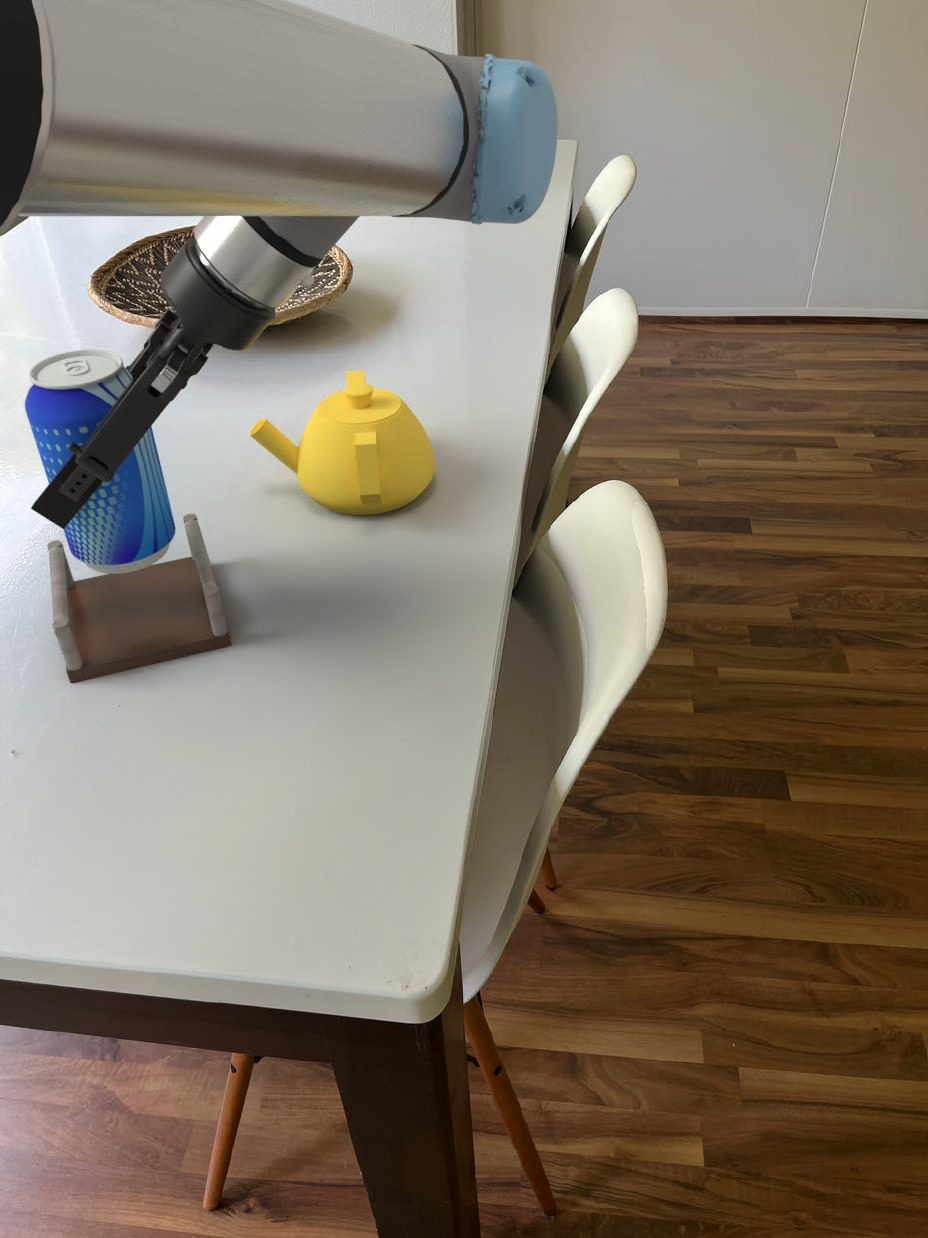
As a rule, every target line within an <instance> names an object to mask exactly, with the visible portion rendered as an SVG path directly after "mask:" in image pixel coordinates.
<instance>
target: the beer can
mask: <svg viewBox="0 0 928 1238" xmlns="http://www.w3.org/2000/svg"><path fill="white" fill-rule="evenodd" d="M28 378H29V381H30V384H29V387H28V391H27V394H26V397H25V401H24V410H25V413H26V417H27V419H28V422H29V426H30V429H31V432H32V435H33V438H34V441H35V444H36V445H35V446H36V448H37V451H38V454H39V457H40V460H41V464H42V467H43V470H44V473H45V476H46V479H47V482H48V485H49V484H50V482H51V481H52V480H53V478H54V477H55V476H56V475H57V473H58V472H59V471H60V470H61V468H62V467H63V466H64V465H65V463H66V462H67V461H68V460H69V458H70V457H71V456H72V455H73V453H72V452H70V451H69V450H67V449H68V447H69V446H70V444H71V443H72V442H74V443H75V444H77V445H78V446H81V445H84V444H85V443H86V442H87V440H88V439H89V438H90V436H91V435H92V433H93V432H94V431H95V429H96V428H97V427H98V425H99V424H100V423H101V421H102V420H103V419H104V417H105V416H106V414H107V413H108V412H109V410H110V409H111V408H112V406H113V405H114V404H115V402H116V401H117V400H118V398H119V397H120V395H121V394H122V393H123V391H124V390H125V389H126V387H127V386H128V385H129V383H130V382H131V381H132V375H131V373H130V372H129V371H128V370H127V369H126V367H125V366H124V360H123V359H122V357H121V356H120V354H117V353H116V352H113V351H110V350H104V349H94V348H93V349H92V348H91V349H89V348H88V349H77V350H71V351H65V352H61V353H57V354H54V355H51V356H49V357H46V358H43V359H41V360H40V361H38V362H37V363H35V364H34V365H33V366H32V367H31V368H30V370H29V372H28ZM154 435H155V434H154V431H153V425H152V426H151V427H150V428H149V429H148V431H147V432H146V433H145V435H144V436H143V437H142V438H141V440H140V441H139V442H138V443H137V445H136V446H135V447H134V449H133V450H132V451H131V452H130V454H129V455H128V456H127V457H126V459H125V460H124V461H123V463H122V464H121V465H120V466H119V468H118V469H117V470H116V471H115V473H114V474H115V475H114V477H113V478H112V479H111V480H109V481H108V482H106V483H105V482H104V481H103V482H102V483H101V485H100V486H99V487H98V488H97V490H96V491H95V492H94V493H93V494H92V496H91V497H90V498H89V499H88V500H87V502H86V503H85V504H84V505H83V506H82V508H81V509H80V510H79V511H78V512H77V514H76V515H75V516H74V517H73V519H72V520H71V521H70V522H69V523H68V525H67V526H66V527H65V528H64V529H63V533H64V537H65V538H66V541H67V545H68V549H69V551H70V554H71V555H72V556H73V557H74V558H75V559H76V560H78V561H80V562H81V563H83V564H84V565H85V566H86V567H88V569H90V570H93V571H95V572H97V573H101V574H105V575H106V574H122V573H129V572H133V571H137V570H140V569H143V568H146V567H148V566H150V565H154V564H156V563H157V562H159V561H160V560H161V559H162V558H163V557H164V556H165V555H166V554H167V553H168V550H169V548H170V544H171V543H172V541H173V540H174V537H175V536H176V523H175V520H174V516H173V512H172V507H171V502H170V499H169V494H168V490H167V486H166V482H165V478H164V472H163V468H162V465H161V460H160V456H159V452H158V447H157V443H156V439H155V436H154Z"/></svg>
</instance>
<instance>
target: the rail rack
mask: <svg viewBox="0 0 928 1238" xmlns="http://www.w3.org/2000/svg"><path fill="white" fill-rule="evenodd" d="M182 521H183V524H184V528H185V533H186V538H187V542H188V546H189V550H190V555H191V556H187V557H183V558H178V559H173V560H168V561H163V562H160V563H154V564H152V565H150V566H148V567H146V568H143V569H140V570H137V571H133V572H129V573H122V574H106V573H105V574H102V575H98V576H92V577H88V578H87V577H86V578H84V579H83V578H82V579H78V580H75V579H74V577H73V574H72V570H71V567H70V565H69V561H68V558H67V554H66V551H65V549H64V544H63V543H62V541H61V540H59V539H58V540H57V539H56V540H52V541H51V540H50V541H49V542H48V543H47V545H46V546H47V550H48V558H49V559H48V560H49V574H50V589H51V590H50V591H51V603H52V619H53V622H52V624H51V625H52V629H53V633H54V636H55V637H56V640H57V642H58V645H59V648H60V652H61V654H62V657H63V660H64V662H65V668H66V670H65V671H66V674H67V677H68V680H69V683H70V684H72V683H76V682H80V681H81V682H82V681H85V680H89V679H93V678H97V677H103V676H106V675H111V674H114V673H119V672H122V671H127V670H132V669H135V668H140V667H145V666H148V665H152V664H153V665H154V664H157V663H161V662H165V661H170V660H174V659H178V658H182V657H183V658H184V657H187V656H191V655H195V654H199V653H203V652H208V651H211V650H217V649H221V648H224V647H228V646H232V645H233V643H232V638H231V633H230V629H229V627H228V624H227V620H226V616H225V613H224V608H223V603H222V598H221V594H220V593H221V592H220V589H219V587H218V584H217V580H216V577H215V574H214V571H213V567H212V563H211V560H210V557H209V554H208V551H207V547H206V543H205V541H204V536H203V534H202V530H201V527H200V523H199V519H198V516H197V514H195V513H187V514H185V515H184V516H183V517H182Z"/></svg>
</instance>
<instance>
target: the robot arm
mask: <svg viewBox="0 0 928 1238" xmlns="http://www.w3.org/2000/svg"><path fill="white" fill-rule="evenodd" d="M558 120H559V119H558V108H557V101H556V94H555V91H554V88H553V85H552V82H551V80H550V78H549V76H548V74H547V73H546V71H544V69H543V68H542V67H541V66H539V65H538V64H536V63H534V62H532V61H529V60H521V59H509V58H498V57H497V56H495V54H493V53H484V56H469V55H468V56H467V55H458V54H457V55H456V54H449V53H444V52H441V51H438V50H434V49H432V48H429V47H426V46H422V45H420V44H413V43H410V42H407V41H405V40H403V39H401V38H398V37H395V36H392V35H389V34H386V33H384V32H381V31H377V30H375V29H372V28H369V27H366V26H363V25H360V24H357V23H354V22H351V21H348V20H346V19H342V18H341V17H340V18H339V17H337V16H334V15H330V14H329V13H326V12H322V11H320V10H316V9H313V8H311V7H308V6H305V5H302V4H299V3H296V2H294V1H291V0H0V236H1V235H2V234H3V233H4V232H5V231H7V230H8V228H9V227H10V226H11V225H12V224H13V223H14V221H15V220H16V219H17V218H18V217H202V218H201V219H200V220H199V222H198V223H197V224H196V226H195V228H194V231H193V233H194V237H193V238H189V239H187V240H186V241H185V242H184V243H183V245H182V246H181V247H180V248H179V250H177V253H176V254H175V255H174V256H173V257H172V259H171V260H170V262H169V263H168V264H167V266H166V267H165V268H164V270H163V271H162V273H161V275H160V288H161V291H162V293H163V295H164V297H165V298H164V299H166V301H167V303H168V304H169V306H170V307H171V308H172V309H174V310H172V309H170V308H169V307H167V309H166V310H165V311H164V312H163V314H162V315H161V316H160V318H159V319H158V321H157V323H156V324H155V327H154V330H153V331H152V332H151V333H150V335H149V336H148V338H146V339H147V340H146V341H145V343H144V344H143V348H142V350H140V352H139V353H138V354H137V356H136V357H135V358H134V359H133V360H132V362H131V363H130V365H126V367H125V368H126V369H127V370H128V371H129V372H130V373H131V375H132V381H131V382H130V383H129V385H128V386H127V387H126V389H125V390H124V391H123V393H122V394H121V395H120V397H119V398H118V400H117V401H116V402H115V404H114V405H113V406H112V408H111V409H110V410H109V412H108V413H107V414H106V416H105V417H104V419H103V420H102V421H101V423H100V424H99V425H98V427H97V428H96V429H95V431H94V432H93V433H92V435H91V436H90V438H89V439H88V440H87V442H86V443H85V444H84V445H81V446H78V445H77V444H75V443H74V442H72V443H71V444H70V446H69V447H68V449H67V450H69V451H70V452H72V453H73V455H72V456H71V457H70V458H69V460H68V461H67V462H66V463H65V465H64V466H63V467H62V468H61V470H60V471H59V472H58V473H57V475H56V476H55V477H54V478H53V480H52V481H51V482H50V484H49V483H48V485H47V486H46V487H45V488H44V490H42V492H41V494H40V495H38V497H37V498H36V500H34V502H33V504H32V505H31V508H30V510H32V511H34V512H35V513H37V514H38V515H40V516H42V517H43V518H44V519H46V520H48V521H49V522H51V523H53V524H54V525H56V526H57V527H59V528H61V529H62V530H64V528H65V527H66V526H67V525H68V523H69V522H70V521H71V520H72V519H73V517H74V516H75V515H76V514H77V512H78V511H79V510H80V509H81V508H82V506H83V505H84V504H85V503H86V502H87V500H88V499H89V498H90V497H91V496H92V494H93V493H94V492H95V491H96V490H97V488H98V487H99V486H100V485H101V483H102V482H103V481H104V482H105V483H106V482H108V481H109V480H111V479H112V478H113V477H114V475H115V474H114V473H115V471H116V470H117V469H118V468H119V466H120V465H121V464H122V463H123V461H124V460H125V459H126V457H127V456H128V455H129V454H130V452H131V451H132V450H133V449H134V447H135V446H136V445H137V443H138V442H139V441H140V440H141V438H142V437H143V436H144V435H145V433H146V432H147V431H148V429H149V428H150V427H151V426H152V427H153V425H154V423H155V422H156V421H157V419H158V418H159V417H160V416H161V414H162V413H163V412H164V411H165V409H166V408H167V407H168V405H169V404H171V402H173V401H174V400H175V399H176V397H177V396H178V394H179V393H180V392H181V390H185V388H186V387H187V386H188V382H189V381H190V378H191V377H193V376H196V375H198V374H199V372H200V371H201V370H202V369H203V367H204V366H205V365H206V363H207V361H208V360H209V356H208V354H209V352H210V351H212V350H211V349H212V348H213V346H214V345H217V346H220V347H222V348H223V349H227V350H229V351H235V352H236V351H244V350H247V349H249V348H250V347H251V346H252V345H253V343H255V341H256V340H257V339H258V338H259V336H260V335H261V334H262V333H263V331H264V330H266V328H267V327H268V326H269V324H270V323H271V322H272V321H273V320H274V318H275V317H276V314H277V313H276V308H281V307H283V306H285V305H286V303H288V301H289V300H290V298H292V296H293V295H294V294H295V293H296V291H297V289H298V285H300V286H301V287H302V288H304V289H306V290H310V289H311V288H312V287H313V286H314V284H315V278H314V276H313V275H312V273H313V271H314V270H315V268H316V267H318V266H319V265H320V264H321V262H322V261H323V260H324V258H326V256H327V254H328V253H329V252H330V251H331V250H332V249H333V247H334V246H335V245H336V244H337V243H339V241H340V240H341V238H342V237H343V236H344V235H345V234H346V233H347V231H349V229H350V228H351V227H352V226H353V225H354V224H355V222H356V221H357V220H358V219H359V218H360V217H392V218H429V219H430V218H431V219H444V220H452V221H461V222H467V223H471V224H472V225H473V224H474V225H478V226H480V225H482V224H484V223H485V224H486V223H488V224H508V225H509V224H510V225H516V224H518V225H519V224H521V223H524V222H526V221H528V220H529V219H531V218H532V217H533V216H534V215H535V214H536V213H537V211H538V210H539V209H540V207H541V206H542V204H543V202H544V200H545V198H546V195H547V192H548V190H549V187H550V184H551V180H552V177H553V174H554V168H555V163H556V157H557V156H556V155H557V147H558V134H559V131H558V130H559V122H558Z"/></svg>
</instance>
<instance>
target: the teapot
mask: <svg viewBox="0 0 928 1238" xmlns="http://www.w3.org/2000/svg"><path fill="white" fill-rule="evenodd" d="M365 376H366V375H365V370H350V371H349V370H348V371H345V387H344V389H340V390H338V391H335V392H333V393H330V394H328V395H326V396H325V397H324V398H323V399H321V400H320V402H319V403H318V404H317V405H316V407H315V409H314V410H313V411H312V413H311V415H310V417H309V419H308V421H307V422H306V425H305V427H304V429H303V431H302V434H301V436H300V439H299V443H298V446H297V445H296V444H295V443H294V442H293V441H292V440H290V439H289V438H288V437H287V436H286V435H285V434H284V433H283V432H281V430H279V429H278V428H277V427H276V426H275V425H274V424H273V423H271V421H269V420H268V419H267V418H266V417H262V418H260V419H259V420H257V421H256V423H255V424H254V425H253V426H252V427H251V429H250V430H249V432H248V435H249V436H250V437H251V438H252V439H253V440H254V441H256V442H257V443H258V444H259V445H260V446H262V447H263V448H264V449H265V450H266V451H268V452H269V453H270V454H271V455H273V456H274V457H275V458H276V459H277V460H279V461H280V462H281V463H282V464H283V465H284V466H286V467H287V468H288V469H290V471H292V472H293V473H295V475H296V480H297V482H298V484H299V486H300V488H301V490H302V491H303V492H304V493H305V494H306V495H307V496H308V497H309V498H310V499H312V500H313V501H314V502H316V503H317V504H318V505H320V506H321V507H323V508H324V509H327V510H329V511H332V512H335V513H339V514H343V515H350V516H370V515H371V516H372V515H378V514H384V513H390V512H392V511H395V510H398V509H400V508H403V507H404V506H406V505H408V504H410V503H412V502H413V501H414V500H416V499H417V498H418V497H419V496H420V495H421V493H423V491H424V490H426V488H427V487H428V485H429V484H430V483H431V481H432V479H433V476H434V474H435V471H436V463H435V455H434V452H433V447H432V445H431V441H430V438H429V436H428V434H427V432H426V430H425V428H424V426H423V424H422V423H421V422H420V420H419V419H418V417H417V416H416V415H415V413H414V412H413V410H411V408H410V407H409V406H408V404H407V403H406V402H405V401H404V400H403V399H402V398H401V397H400V396H399V395H398V394H396V393H394V392H392V391H391V390H388V389H384V388H381V387H380V388H379V387H374V386H372V385H371V384H369V383H366V377H365Z"/></svg>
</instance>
